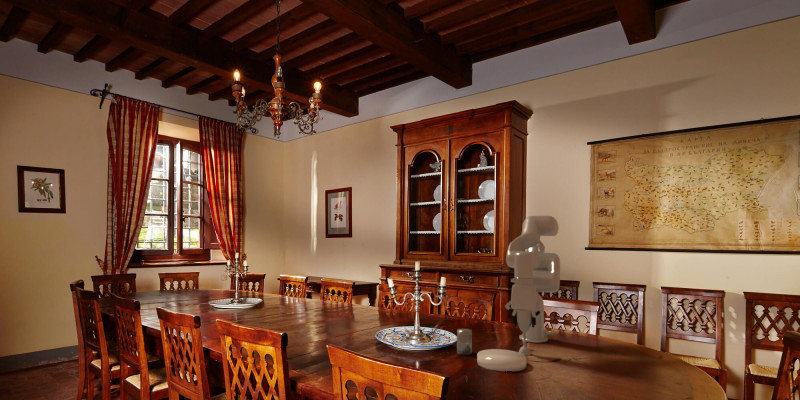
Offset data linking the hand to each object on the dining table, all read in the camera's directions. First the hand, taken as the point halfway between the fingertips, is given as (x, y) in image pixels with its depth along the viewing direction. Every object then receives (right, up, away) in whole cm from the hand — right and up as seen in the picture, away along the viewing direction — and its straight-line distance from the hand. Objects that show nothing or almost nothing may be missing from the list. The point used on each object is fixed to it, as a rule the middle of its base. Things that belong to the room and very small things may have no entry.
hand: (524, 325), depth 175 cm
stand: (-13, -10, -15) cm, 22 cm away
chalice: (0, -11, -1) cm, 11 cm away
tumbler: (-25, -11, -1) cm, 27 cm away
